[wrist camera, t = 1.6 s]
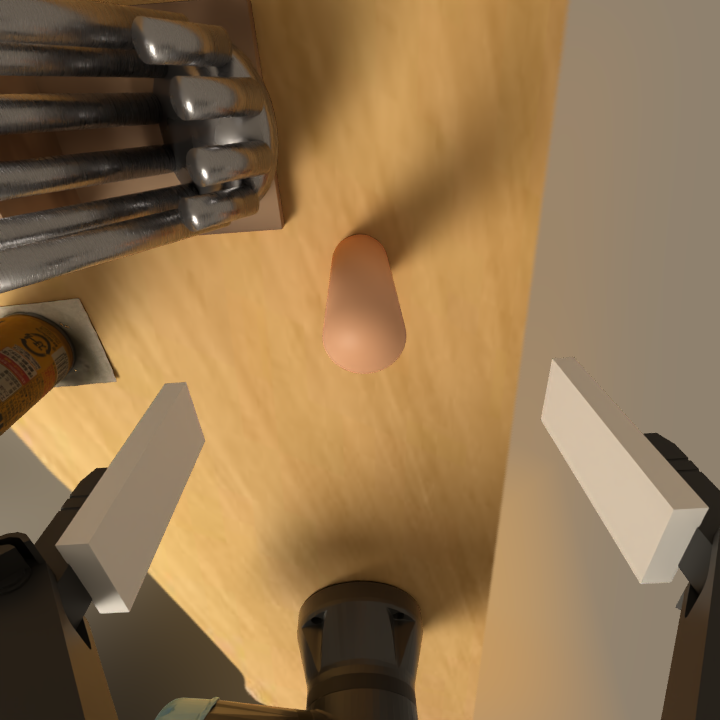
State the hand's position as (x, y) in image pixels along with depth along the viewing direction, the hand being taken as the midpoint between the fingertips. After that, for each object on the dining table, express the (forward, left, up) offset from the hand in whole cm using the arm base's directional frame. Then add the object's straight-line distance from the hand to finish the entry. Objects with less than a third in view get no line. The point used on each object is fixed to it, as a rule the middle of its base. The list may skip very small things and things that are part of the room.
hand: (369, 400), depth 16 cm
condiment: (-5, +25, -18) cm, 31 cm away
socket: (+9, +12, -17) cm, 23 cm away
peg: (0, 0, -17) cm, 17 cm away
